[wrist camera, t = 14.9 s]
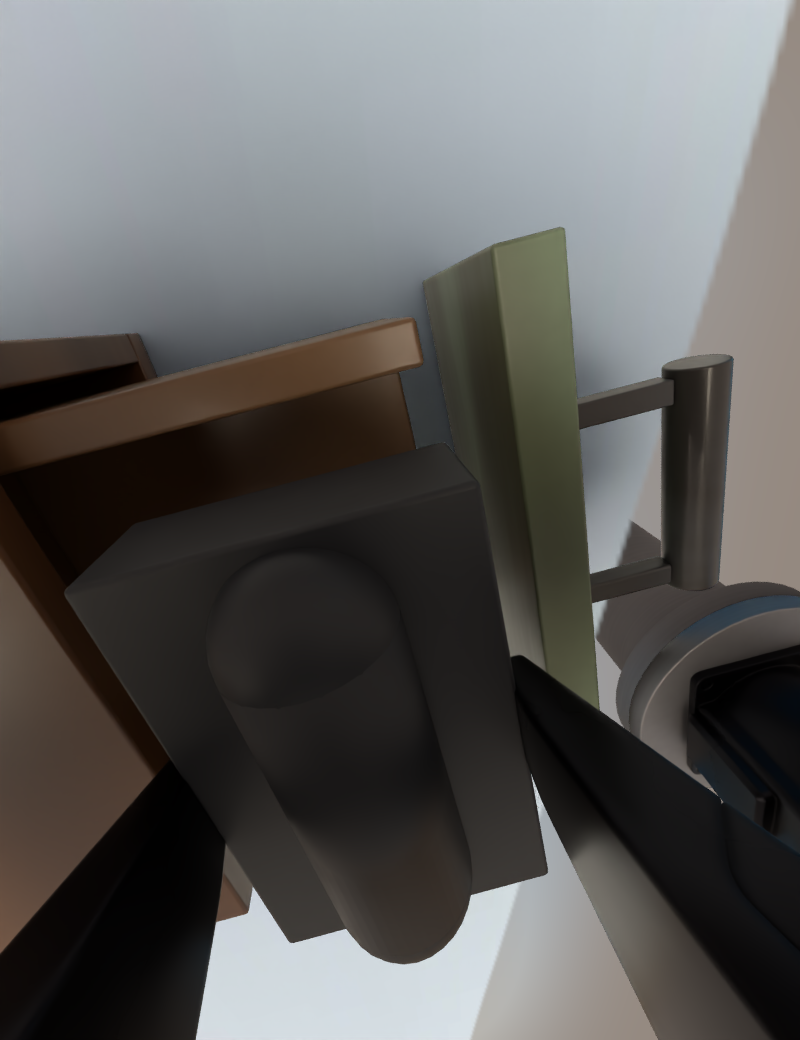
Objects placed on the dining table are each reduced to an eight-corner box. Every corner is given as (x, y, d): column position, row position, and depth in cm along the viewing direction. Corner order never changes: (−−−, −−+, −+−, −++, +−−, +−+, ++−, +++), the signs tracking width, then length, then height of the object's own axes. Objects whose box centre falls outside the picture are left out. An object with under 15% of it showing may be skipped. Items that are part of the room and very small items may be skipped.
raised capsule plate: (132, 522, 7) (-18, 663, 4) (445, 439, 7) (516, 521, 4) (299, 836, 10) (280, 1039, 7) (513, 778, 10) (579, 958, 7)
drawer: (620, 229, 13) (863, 148, 7) (630, 585, 18) (777, 720, 12) (-30, 397, 13) (-369, 466, 7) (162, 709, 18) (67, 910, 12)
